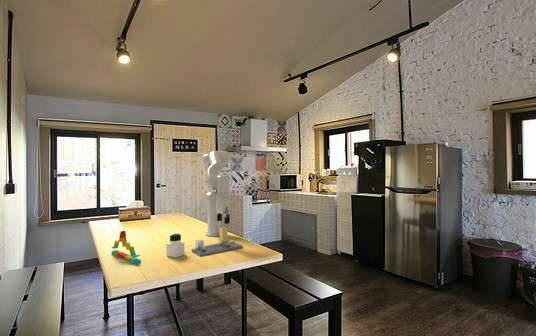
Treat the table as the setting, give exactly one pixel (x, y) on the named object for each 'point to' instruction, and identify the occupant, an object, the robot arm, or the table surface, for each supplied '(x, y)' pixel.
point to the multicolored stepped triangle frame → (128, 247)
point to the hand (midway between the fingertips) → (223, 222)
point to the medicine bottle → (175, 246)
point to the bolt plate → (214, 247)
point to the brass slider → (224, 235)
